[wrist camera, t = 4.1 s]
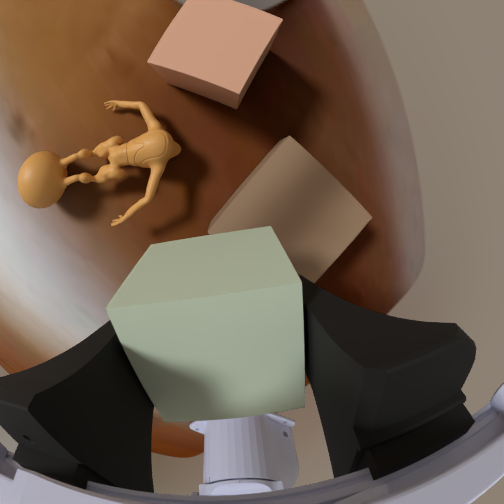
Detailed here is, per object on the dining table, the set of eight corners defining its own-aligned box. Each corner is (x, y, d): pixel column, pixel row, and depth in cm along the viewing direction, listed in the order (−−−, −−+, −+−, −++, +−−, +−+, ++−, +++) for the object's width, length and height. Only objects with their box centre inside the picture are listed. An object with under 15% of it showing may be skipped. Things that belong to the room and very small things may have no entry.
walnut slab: (352, 208, 18) (372, 217, 16) (288, 281, 20) (297, 300, 17) (280, 139, 17) (289, 135, 14) (211, 221, 18) (207, 232, 15)
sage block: (270, 225, 11) (302, 282, 6) (280, 326, 13) (304, 407, 8) (151, 244, 11) (105, 308, 6) (179, 340, 13) (164, 421, 8)
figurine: (35, 242, 16) (180, 215, 20) (0, 249, 10) (194, 212, 15) (29, 138, 14) (170, 112, 19) (-1, 113, 9) (182, 76, 13)
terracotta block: (269, 50, 14) (283, 19, 10) (236, 109, 16) (239, 93, 11) (202, 25, 13) (194, -10, 9) (168, 83, 15) (147, 62, 10)
